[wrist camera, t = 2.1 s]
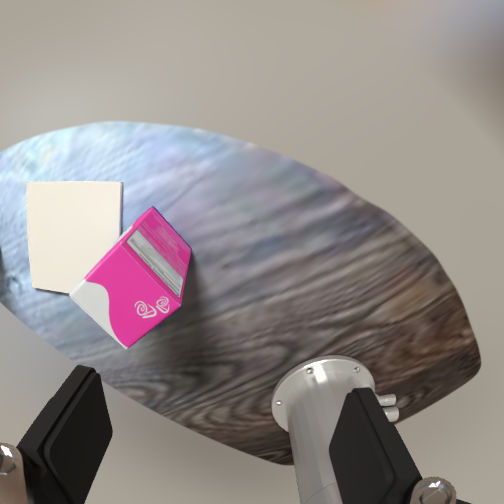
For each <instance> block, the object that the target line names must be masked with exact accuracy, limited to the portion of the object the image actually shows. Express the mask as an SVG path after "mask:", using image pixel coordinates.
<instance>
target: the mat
mask: <svg viewBox="0 0 504 504" xmlns="http://www.w3.org/2000/svg"><path fill="white" fill-rule="evenodd" d="M122 183H123V182H96V181H57V182H27V192H26V204H27V235H28V250H29V262H30V271H31V280H32V287H33V288H39V289H45V290H51V291H57V292H63V293H69V294H70V293H71V292H72V291H73V290H74V288H75V287H76V286H77V285H78V284H79V282H80V281H81V280H82V279H83V278H84V276H85V275H86V274H87V273H88V272H89V271H90V270H91V268H92V267H93V266H94V265H95V264H96V263H97V262H98V260H99V259H100V258H101V257H102V256H103V255H104V254H105V253H106V251H107V250H108V249H109V248H110V247H111V246H112V245H113V243H114V242H115V241H116V240H117V239H118V238H119V237H120V236H121V211H122Z"/></svg>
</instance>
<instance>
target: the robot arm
mask: <svg viewBox="0 0 504 504" xmlns="http://www.w3.org/2000/svg"><path fill="white" fill-rule="evenodd" d="M395 402H396V397H395V395H394V394H391V395H383V396H378V395H377V394H375V383H374V380H373V377H372V375H371V373H370V372H369V370H368V369H367V368H366V367H365V365H364V364H362V363H361V362H359V361H358V360H355V359H353V358H350V357H346V356H340V355H329V356H323V357H318V358H314V359H311V360H308V361H306V362H304V363H302V364H300V365H298V366H296V367H295V368H293V369H292V370H290V371H289V372H288V373H287V374H286V375H285V376H283V377H282V379H281V380H280V381H279V383H278V384H277V385H276V387H275V389H274V391H273V395H272V399H271V408H272V413H273V417H274V419H275V421H276V422H277V423H278V425H279V426H280V427H281V428H283V429H284V430H286V431H287V432H289V436H290V442H291V448H292V454H293V460H294V466H295V472H296V478H297V484H298V490H299V496H300V502H301V504H470V503H468V502H464V501H461V500H458V499H456V491H455V489H454V486H452V484H451V483H450V482H448V481H447V480H445V479H443V478H439V477H428V478H424V479H423V478H422V476H421V475H420V473H419V471H418V469H417V467H416V465H415V463H414V461H413V459H412V457H411V455H410V453H409V451H408V450H407V448H406V446H405V444H404V442H403V440H402V438H401V436H400V435H399V433H398V431H397V429H396V427H395V426H394V424H393V423H391V421H396V420H397V419H398V416H399V411H398V408H397V407H388V408H382V407H381V406H388V405H394V404H395ZM112 433H113V431H112V426H111V421H110V418H109V413H108V409H107V405H106V401H105V396H104V392H103V387H102V382H101V377H100V374H98V373H96V371H95V369H94V368H91V367H86V366H82V365H77V366H76V367H75V369H74V370H73V371H72V373H71V374H70V376H68V378H67V379H66V381H65V382H64V383H63V384H62V386H61V387H60V388H59V390H58V391H57V392H56V394H55V395H54V397H52V398H51V399H50V400H49V401H48V403H47V404H46V406H45V407H44V408H43V410H42V411H41V412H40V414H39V415H38V417H37V418H36V419H35V421H34V422H33V424H32V425H31V427H30V428H29V429H28V431H27V432H26V434H25V435H24V436H23V438H22V439H21V441H20V442H19V444H18V445H17V447H14V446H13V445H10V444H8V443H0V504H84V503H85V500H86V498H87V495H88V493H89V490H90V488H91V485H92V483H93V480H94V478H95V476H96V473H97V471H98V468H99V466H100V463H101V461H102V459H103V456H104V454H105V452H106V449H107V447H108V445H109V442H110V440H111V438H112Z"/></svg>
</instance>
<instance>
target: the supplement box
mask: <svg viewBox="0 0 504 504" xmlns="http://www.w3.org/2000/svg"><path fill="white" fill-rule="evenodd" d="M191 251H192V249H191V247H190V246H189V245H188V244H187V243H186V242H185V241H184V240H183V239H182V237H181V236H180V235H179V234H178V233H177V232H176V231H175V230H174V228H173V227H172V226H171V225H170V224H169V223H168V222H167V221H166V219H165V218H164V217H163V216H162V215H161V214H160V213H159V212H158V210H157V209H156V208H155V207H153V206H152V207H151V208H149V209H148V210H147V211H146V212H145V213H144V214H143V215H141V216H140V217H139V218H138V219H137V220H136V221H135V222H134V223H133V224H132V225H131V226H130V227H129V228H128V229H127V230H125V231H124V232H123V234H122V235H121V236H120V237H119V238H118V239H117V240H116V241H115V242H114V243H113V245H112V246H111V247H110V248H109V249H108V250H107V251H106V253H105V254H104V255H103V256H102V257H101V258H100V259H99V260H98V262H97V263H96V264H95V265H94V266H93V267H92V268H91V270H90V271H89V272H88V273H87V274H86V275H85V276H84V278H83V279H82V280H81V281H80V282H79V284H78V285H77V286H76V287H75V288H74V290H73V291H72V292H71V293H70V295H69V296H70V297H71V298H72V299H73V300H74V301H75V302H76V303H77V304H78V305H79V306H80V307H81V308H82V309H83V310H84V311H85V312H86V313H87V314H88V315H89V316H90V317H92V318H93V319H94V320H95V321H96V322H97V323H98V324H99V325H100V326H101V327H102V328H103V329H104V330H105V331H106V332H107V333H108V334H110V335H111V336H112V337H113V338H114V339H115V340H116V341H117V342H118V343H119V344H121V345H122V346H123V347H124V348H125V349H128V348H129V347H131V346H132V345H133V344H135V343H136V342H137V341H138V340H140V339H141V338H142V337H143V336H145V335H146V334H147V333H148V332H150V331H151V330H152V329H153V328H154V327H156V326H157V325H158V324H160V323H161V322H162V321H163V320H164V319H166V318H167V317H168V316H169V315H171V314H172V313H173V312H174V311H176V310H177V309H178V308H180V307H181V303H182V297H183V292H184V286H185V281H186V276H187V270H188V265H189V260H190V255H191Z"/></svg>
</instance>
